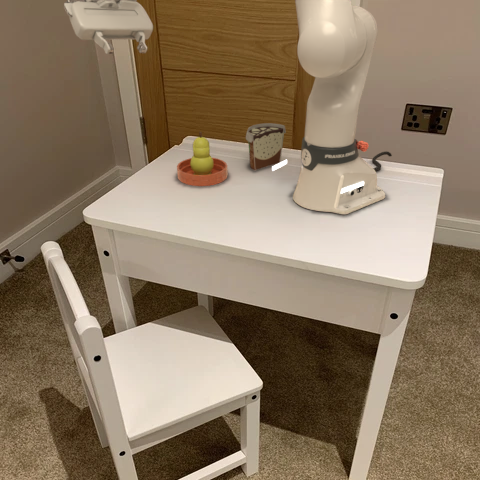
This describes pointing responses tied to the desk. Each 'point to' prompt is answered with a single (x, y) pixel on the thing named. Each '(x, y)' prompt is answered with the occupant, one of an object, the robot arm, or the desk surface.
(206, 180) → the dish
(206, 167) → the pear
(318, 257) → the desk surface
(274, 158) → the food container
